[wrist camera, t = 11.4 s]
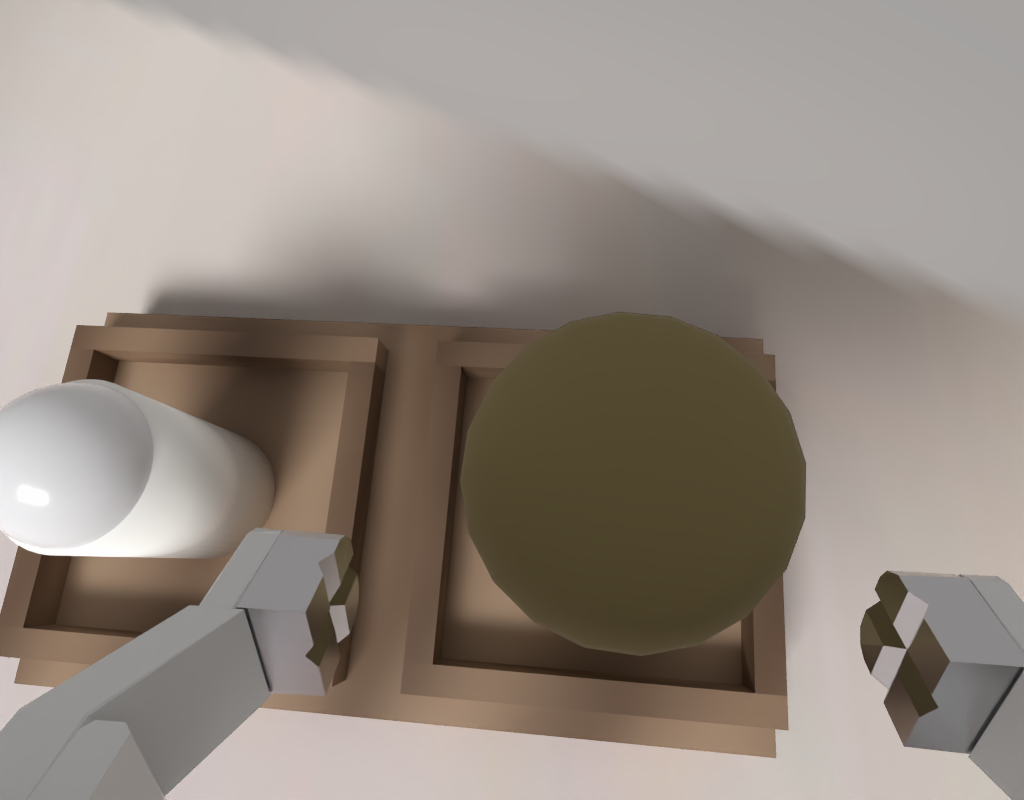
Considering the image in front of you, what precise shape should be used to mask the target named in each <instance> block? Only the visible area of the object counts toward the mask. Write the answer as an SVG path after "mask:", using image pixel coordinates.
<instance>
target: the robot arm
mask: <svg viewBox="0 0 1024 800" xmlns="http://www.w3.org/2000/svg"><path fill="white" fill-rule="evenodd" d="M353 554H354V553H353V548H352V544H351V539H350V538H349V537H348V536H346V535H338V534H327V533H316V532H305V531H294V530H286V531H285V530H275V529H264V528H255V529H254V530H252V531H250V532H249V533H248V534H247V535H246V536H245V538H244V539H243V541H242V542H241V544H240V545H239V547H238V548H237V550H236V551H235V553H234V554H233V556H232V557H231V559H230V560H229V562H228V563H227V565H226V566H225V568H224V569H223V571H222V572H221V574H220V575H219V577H218V578H217V580H216V581H215V583H214V584H213V586H212V587H211V589H210V590H209V591H208V593H207V594H206V596H205V597H204V599H203V600H202V602H201V603H200V605H199V606H194V605H189V606H187V607H186V608H184V609H183V610H181V611H179V612H178V613H176V614H174V615H173V616H171V617H169V618H168V619H166V620H165V621H163V622H161V623H160V624H158V625H156V626H155V627H153V628H151V629H150V630H148V631H147V632H145V633H143V634H142V635H140V636H138V637H137V638H135V639H133V640H132V641H130V642H129V643H127V644H125V645H124V646H122V647H120V648H119V649H117V650H115V651H114V652H112V653H111V654H109V655H107V656H106V657H104V658H102V659H101V660H99V661H97V662H96V663H94V664H93V665H91V666H89V667H88V668H86V669H84V670H83V671H81V672H79V673H78V674H76V675H75V676H73V677H71V678H70V679H68V680H66V681H65V682H63V683H61V684H60V685H58V686H57V687H55V688H53V689H52V690H50V691H48V692H47V693H45V694H43V695H42V696H40V697H39V698H37V699H35V700H34V701H32V702H30V703H29V704H27V705H25V706H24V707H22V708H21V709H19V710H18V711H17V713H16V714H15V715H14V716H13V717H12V719H11V720H10V721H9V722H8V723H7V725H6V726H5V727H4V728H3V729H2V731H1V732H0V800H166V799H165V797H164V796H165V795H166V794H168V793H169V792H170V791H171V790H172V789H173V788H174V787H175V786H176V785H177V784H178V783H179V782H180V781H181V780H182V779H183V778H185V777H186V776H187V775H188V774H189V773H190V772H191V771H192V770H193V769H194V768H195V767H196V766H197V765H198V764H199V763H200V762H202V761H203V760H204V759H205V758H206V757H207V756H208V755H209V754H210V753H211V752H212V751H213V750H214V749H215V748H216V747H217V746H218V745H220V744H221V743H222V742H223V741H224V740H225V739H226V738H227V737H228V736H229V735H230V734H231V733H232V732H233V731H234V730H235V729H237V728H238V727H239V726H240V725H241V724H242V723H243V722H244V721H245V720H246V719H247V718H248V717H249V716H250V715H251V714H252V713H254V712H255V711H256V710H257V709H258V708H259V707H260V706H261V705H262V704H263V703H264V702H265V701H266V700H267V699H268V698H269V697H270V693H278V694H296V695H313V696H326V694H327V691H328V689H329V686H330V683H331V681H332V678H333V676H334V673H335V671H336V668H337V665H338V663H339V660H340V653H339V648H338V642H340V641H341V640H342V639H344V638H345V637H346V636H347V635H349V634H350V632H351V629H352V626H353V623H354V620H355V617H356V612H357V607H358V601H359V583H358V576H357V573H355V572H354V571H353V570H352V569H351V568H350V567H349V563H350V561H351V559H352V556H353ZM875 591H876V592H877V594H878V596H879V598H880V600H881V601H879V602H878V603H876V604H875V605H873V606H872V607H870V608H869V609H867V610H866V612H865V615H864V618H863V620H862V623H861V626H860V644H861V649H862V653H863V657H864V660H865V662H866V665H867V667H868V669H869V671H870V674H871V675H872V676H873V677H874V678H876V679H877V680H878V681H879V682H880V683H881V684H883V685H884V686H885V687H886V688H887V689H888V691H887V694H886V697H885V700H884V704H885V707H886V709H887V711H888V713H889V715H890V717H891V719H892V722H893V724H894V726H895V728H896V730H897V732H898V734H899V737H900V739H901V741H902V743H903V745H904V747H913V748H922V749H930V750H939V751H948V752H957V753H966V754H970V755H969V758H970V759H971V760H972V761H973V762H974V763H975V764H976V765H977V766H978V767H979V768H980V769H981V770H982V771H983V772H984V773H985V774H986V775H987V776H988V777H989V778H990V779H991V780H992V781H993V782H994V783H995V784H996V785H997V786H998V787H999V788H1001V789H1002V790H1003V791H1004V792H1005V793H1006V794H1007V795H1008V796H1009V797H1010V798H1011V799H1012V800H1024V603H1023V601H1022V600H1021V599H1020V598H1019V596H1018V595H1017V594H1016V593H1015V591H1014V590H1013V589H1012V588H1011V586H1010V585H1009V584H1008V583H1007V582H1005V581H1004V580H1002V579H1001V578H999V577H997V576H979V575H954V574H938V573H921V572H903V571H886V572H885V573H884V574H883V575H882V576H880V578H879V581H878V583H877V585H876V587H875Z"/></svg>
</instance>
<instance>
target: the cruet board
mask: <svg viewBox="0 0 1024 800" xmlns="http://www.w3.org/2000/svg"><path fill="white" fill-rule="evenodd" d="M551 332H553V331H552V330H528V329H503V328H478V327H454V326H429V325H404V324H380V323H355V322H330V321H305V320H281V319H256V318H231V317H207V316H182V315H157V314H133V313H108V314H107V318H106V322H105V325H104V326H85V325H77V327H76V330H75V334H74V338H73V342H72V345H71V349H70V353H69V357H68V361H67V364H66V368H65V372H64V376H63V379H62V383H67V382H70V381H76V380H83V379H96V380H104V381H108V382H112V383H115V384H117V385H120V386H122V387H124V388H127V389H129V390H132V391H134V392H137V393H139V394H141V395H144V396H146V397H149V398H151V399H153V400H156V401H158V402H161V403H163V404H166V405H168V406H170V407H173V408H175V409H178V410H180V411H182V412H185V413H187V414H190V415H192V416H195V417H197V418H199V419H202V420H204V421H207V422H209V423H212V424H214V425H216V426H219V427H221V428H224V429H226V430H228V431H231V432H233V433H236V434H238V435H241V436H243V437H245V438H247V439H249V440H251V441H252V442H254V443H255V444H256V445H257V446H259V447H260V449H261V450H262V451H263V452H264V453H265V455H266V456H267V458H268V459H269V462H270V464H271V466H272V469H273V473H274V478H275V497H274V502H273V506H272V509H271V512H270V515H269V517H268V519H267V521H266V523H265V524H264V526H263V527H262V528H264V529H275V530H285V531H286V530H294V531H305V532H316V533H327V534H338V535H346V536H348V537H349V538H350V539H351V544H352V548H353V553H354V554H353V556H352V559H351V561H350V563H349V567H350V568H351V569H352V570H353V571H354V572H355V573H357V576H358V583H359V601H358V607H357V612H356V617H355V620H354V623H353V626H352V629H351V632H350V634H349V635H347V636H346V637H345V638H344V639H342V640H341V641H340V642H338V648H339V653H340V660H339V663H338V665H337V668H336V671H335V673H334V676H333V678H332V681H331V683H330V686H329V689H328V691H327V694H326V696H313V695H296V694H278V693H270V697H269V698H268V699H267V700H266V701H265V702H264V703H263V704H262V705H261V706H260V707H261V708H271V709H281V710H291V711H301V712H312V713H322V714H332V715H342V716H352V717H363V718H373V719H383V720H393V721H403V722H414V723H424V724H434V725H444V726H454V727H465V728H475V729H485V730H495V731H506V732H516V733H526V734H536V735H546V736H557V737H567V738H577V739H587V740H597V741H608V742H618V743H628V744H638V745H648V746H659V747H669V748H679V749H689V750H699V751H710V752H720V753H730V754H740V755H750V756H761V757H771V758H776V742H775V729H780V730H788V706H787V679H786V651H785V624H784V597H783V574H782V575H781V576H780V578H779V579H778V580H777V581H776V582H775V584H774V585H773V586H772V587H771V588H770V590H769V591H768V592H767V593H766V594H765V596H764V597H763V598H762V599H761V600H760V602H759V603H758V604H757V605H756V606H755V608H754V609H753V610H752V611H751V612H750V613H749V614H748V616H747V617H745V618H744V619H742V620H740V621H738V622H737V623H735V624H733V625H732V626H730V627H728V628H726V629H725V630H723V631H721V632H720V633H718V634H716V635H715V636H713V637H711V638H709V639H708V640H706V641H704V642H703V643H701V644H699V645H697V646H692V647H687V648H682V649H676V650H671V651H666V652H660V653H655V654H650V655H645V656H637V655H630V654H623V653H617V652H610V651H603V650H596V649H590V648H584V647H582V646H580V645H578V644H576V643H574V642H572V641H570V640H568V639H566V638H564V637H562V636H560V635H558V634H556V633H554V632H552V631H550V630H549V629H547V628H545V627H543V626H541V625H539V624H537V623H535V622H533V621H532V620H531V619H530V618H529V617H528V616H527V615H526V614H525V613H524V612H523V611H522V610H521V609H520V608H519V607H518V606H517V605H516V604H515V603H514V602H513V601H512V600H511V599H510V598H509V597H508V596H507V595H506V594H505V593H504V592H503V591H502V590H501V589H500V588H499V587H498V586H497V585H496V584H495V583H494V582H493V580H492V578H491V576H490V574H489V572H488V570H487V568H486V566H485V564H484V562H483V560H482V558H481V557H480V555H479V553H478V551H477V549H476V547H475V545H474V543H473V541H472V539H471V537H470V535H469V533H468V527H467V520H466V514H465V508H464V502H463V496H462V490H461V484H460V478H461V472H462V465H463V458H464V452H465V445H466V439H467V432H468V429H469V427H470V425H471V423H472V421H473V419H474V417H475V415H476V413H477V411H478V409H479V407H480V405H481V403H482V401H483V399H484V397H485V395H486V393H487V391H488V389H489V387H490V385H491V383H492V382H493V380H494V379H495V378H496V377H497V376H498V375H499V374H500V373H501V372H502V371H503V370H504V369H505V368H506V367H507V366H508V365H509V364H510V363H511V362H512V361H513V360H514V359H515V358H516V357H517V356H518V355H519V353H520V352H521V351H522V350H523V349H524V348H525V347H526V346H527V345H529V344H531V343H533V342H534V341H536V340H538V339H540V338H542V337H544V336H546V335H547V334H549V333H551ZM720 338H721V339H723V340H724V341H725V342H726V343H728V344H729V345H730V346H732V347H733V348H734V349H735V350H737V351H738V352H739V353H740V354H742V355H743V356H744V357H746V358H747V359H748V360H749V361H751V362H752V363H753V364H754V365H756V366H757V367H758V368H759V369H760V370H761V372H762V373H763V374H764V376H765V377H766V379H767V380H768V382H769V383H770V384H771V386H772V387H773V389H774V390H775V392H776V379H775V355H766V354H763V339H750V338H725V337H720ZM234 553H235V552H233V553H231V554H229V555H226V556H223V557H219V558H213V559H186V558H143V557H99V556H56V555H44V554H38V553H35V552H32V551H28V550H26V549H24V548H22V547H20V546H18V549H17V553H16V557H15V561H14V565H13V568H12V572H11V576H10V580H9V583H8V587H7V591H6V595H5V599H4V602H3V606H2V610H1V614H0V656H4V657H15V658H20V662H19V666H18V670H17V674H16V678H15V682H14V683H16V684H26V685H36V686H46V687H57V686H58V685H60V684H61V683H63V682H65V681H66V680H68V679H70V678H71V677H73V676H75V675H76V674H78V673H79V672H81V671H83V670H84V669H86V668H88V667H89V666H91V665H93V664H94V663H96V662H97V661H99V660H101V659H102V658H104V657H106V656H107V655H109V654H111V653H112V652H114V651H115V650H117V649H119V648H120V647H122V646H124V645H125V644H127V643H129V642H130V641H132V640H133V639H135V638H137V637H138V636H140V635H142V634H143V633H145V632H147V631H148V630H150V629H151V628H153V627H155V626H156V625H158V624H160V623H161V622H163V621H165V620H166V619H168V618H169V617H171V616H173V615H174V614H176V613H178V612H179V611H181V610H183V609H184V608H186V607H187V606H189V605H194V606H199V605H200V603H201V602H202V600H203V599H204V597H205V596H206V594H207V593H208V591H209V590H210V589H211V587H212V586H213V584H214V583H215V581H216V580H217V578H218V577H219V575H220V574H221V572H222V571H223V569H224V568H225V566H226V565H227V563H228V562H229V560H230V559H231V557H232V556H233V554H234Z"/></svg>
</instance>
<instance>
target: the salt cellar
mask: <svg viewBox="0 0 1024 800" xmlns="http://www.w3.org/2000/svg"><path fill="white" fill-rule="evenodd" d="M274 497H275V478H274V473H273V469H272V466H271V464H270V462H269V459H268V458H267V456H266V455H265V453H264V452H263V451H262V450H261V449H260V447H259V446H257V445H256V444H255V443H254V442H252V441H251V440H249V439H247V438H245V437H243V436H241V435H238V434H236V433H233V432H231V431H228V430H226V429H224V428H221V427H219V426H216V425H214V424H212V423H209V422H207V421H204V420H202V419H199V418H197V417H195V416H192V415H190V414H187V413H185V412H182V411H180V410H178V409H175V408H173V407H170V406H168V405H166V404H163V403H161V402H158V401H156V400H153V399H151V398H149V397H146V396H144V395H141V394H139V393H137V392H134V391H132V390H129V389H127V388H124V387H122V386H120V385H117V384H115V383H112V382H108V381H104V380H96V379H83V380H76V381H70V382H67V383H61V384H55V385H50V386H46V387H42V388H39V389H36V390H33V391H31V392H28V393H26V394H24V395H22V396H20V397H18V398H16V399H14V400H13V401H11V402H10V403H8V404H7V405H5V406H4V407H3V408H2V409H1V410H0V531H1V532H3V533H4V534H5V535H6V536H7V537H8V538H9V539H10V540H12V541H13V542H14V543H16V544H17V545H19V546H20V547H22V548H24V549H26V550H28V551H32V552H35V553H38V554H44V555H56V556H99V557H143V558H186V559H213V558H219V557H223V556H226V555H229V554H231V553H233V552H235V551H236V550H237V548H238V547H239V545H240V544H241V542H242V541H243V539H244V538H245V536H246V535H247V534H248V533H249V532H250V531H252V530H254V529H255V528H262V527H263V526H264V524H265V523H266V521H267V519H268V517H269V515H270V512H271V509H272V506H273V502H274Z"/></svg>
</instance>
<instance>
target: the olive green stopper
mask: <svg viewBox="0 0 1024 800" xmlns="http://www.w3.org/2000/svg"><path fill="white" fill-rule="evenodd" d="M460 484H461V490H462V496H463V502H464V508H465V514H466V520H467V527H468V533H469V535H470V537H471V539H472V541H473V543H474V545H475V547H476V549H477V551H478V553H479V555H480V557H481V558H482V560H483V562H484V564H485V566H486V568H487V570H488V572H489V574H490V576H491V578H492V580H493V582H494V583H495V584H496V585H497V586H498V587H499V588H500V589H501V590H502V591H503V592H504V593H505V594H506V595H507V596H508V597H509V598H510V599H511V600H512V601H513V602H514V603H515V604H516V605H517V606H518V607H519V608H520V609H521V610H522V611H523V612H524V613H525V614H526V615H527V616H528V617H529V618H530V619H531V620H532V621H533V622H535V623H537V624H539V625H541V626H543V627H545V628H547V629H549V630H550V631H552V632H554V633H556V634H558V635H560V636H562V637H564V638H566V639H568V640H570V641H572V642H574V643H576V644H578V645H580V646H582V647H584V648H590V649H596V650H603V651H610V652H617V653H623V654H630V655H637V656H645V655H650V654H655V653H660V652H666V651H671V650H676V649H682V648H687V647H692V646H697V645H699V644H701V643H703V642H704V641H706V640H708V639H709V638H711V637H713V636H715V635H716V634H718V633H720V632H721V631H723V630H725V629H726V628H728V627H730V626H732V625H733V624H735V623H737V622H738V621H740V620H742V619H744V618H745V617H747V616H748V614H749V613H750V612H751V611H752V610H753V609H754V608H755V606H756V605H757V604H758V603H759V602H760V600H761V599H762V598H763V597H764V596H765V594H766V593H767V592H768V591H769V590H770V588H771V587H772V586H773V585H774V584H775V582H776V581H777V580H778V579H779V578H780V576H781V575H782V574H783V573H784V572H785V570H786V569H787V566H788V564H789V561H790V558H791V555H792V553H793V550H794V547H795V544H796V542H797V539H798V536H799V533H800V531H801V528H802V525H803V522H804V520H805V495H806V462H805V459H804V456H803V452H802V449H801V446H800V443H799V440H798V437H797V433H796V430H795V427H794V424H793V421H792V417H791V414H790V412H789V410H788V409H787V407H786V406H785V404H784V403H783V402H782V400H781V399H780V397H779V396H778V394H777V393H776V392H775V390H774V389H773V387H772V386H771V384H770V383H769V382H768V380H767V379H766V377H765V376H764V374H763V373H762V372H761V370H760V369H759V368H758V367H757V366H756V365H754V364H753V363H752V362H751V361H749V360H748V359H747V358H746V357H744V356H743V355H742V354H740V353H739V352H738V351H737V350H735V349H734V348H733V347H732V346H730V345H729V344H728V343H726V342H725V341H724V340H723V339H721V338H720V337H719V336H717V335H715V334H712V333H710V332H707V331H705V330H702V329H700V328H697V327H695V326H692V325H690V324H687V323H685V322H682V321H680V320H677V319H675V318H672V317H668V316H657V315H646V314H636V313H625V312H617V313H612V314H607V315H602V316H597V317H592V318H587V319H582V320H577V321H572V322H570V323H568V324H566V325H564V326H562V327H560V328H559V329H557V330H555V331H553V332H551V333H549V334H547V335H546V336H544V337H542V338H540V339H538V340H536V341H534V342H533V343H531V344H529V345H527V346H526V347H525V348H524V349H523V350H522V351H521V352H520V353H519V355H518V356H517V357H516V358H515V359H514V360H513V361H512V362H511V363H510V364H509V365H508V366H507V367H506V368H505V369H504V370H503V371H502V372H501V373H500V374H499V375H498V376H497V377H496V378H495V379H494V380H493V382H492V383H491V385H490V387H489V389H488V391H487V393H486V395H485V397H484V399H483V401H482V403H481V405H480V407H479V409H478V411H477V413H476V415H475V417H474V419H473V421H472V423H471V425H470V427H469V429H468V432H467V439H466V445H465V452H464V458H463V465H462V472H461V478H460Z"/></svg>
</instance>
